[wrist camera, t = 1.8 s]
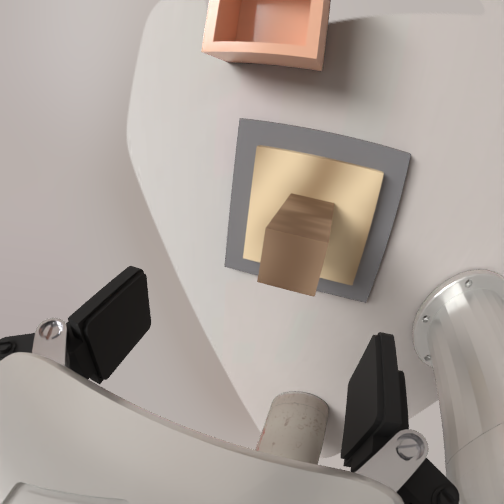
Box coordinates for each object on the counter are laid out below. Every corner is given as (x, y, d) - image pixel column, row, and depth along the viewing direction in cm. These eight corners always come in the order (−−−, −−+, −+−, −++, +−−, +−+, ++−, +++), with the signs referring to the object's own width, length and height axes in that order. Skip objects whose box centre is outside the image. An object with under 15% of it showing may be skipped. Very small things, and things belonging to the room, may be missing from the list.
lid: (382, 171, 21) (403, 200, 13) (352, 279, 26) (349, 348, 18) (260, 145, 23) (215, 159, 15) (246, 253, 28) (205, 308, 20)
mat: (408, 153, 20) (410, 153, 20) (365, 298, 27) (365, 302, 26) (242, 118, 23) (239, 118, 23) (227, 262, 30) (224, 266, 29)
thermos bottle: (268, 415, 39) (199, 581, 15) (276, 385, 36) (193, 585, 12) (320, 427, 38) (269, 598, 13) (335, 398, 34) (282, 605, 10)
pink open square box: (331, -10, 16) (327, -36, 12) (322, 71, 20) (316, 58, 15) (238, -14, 18) (216, -36, 13) (227, 62, 21) (201, 51, 17)
